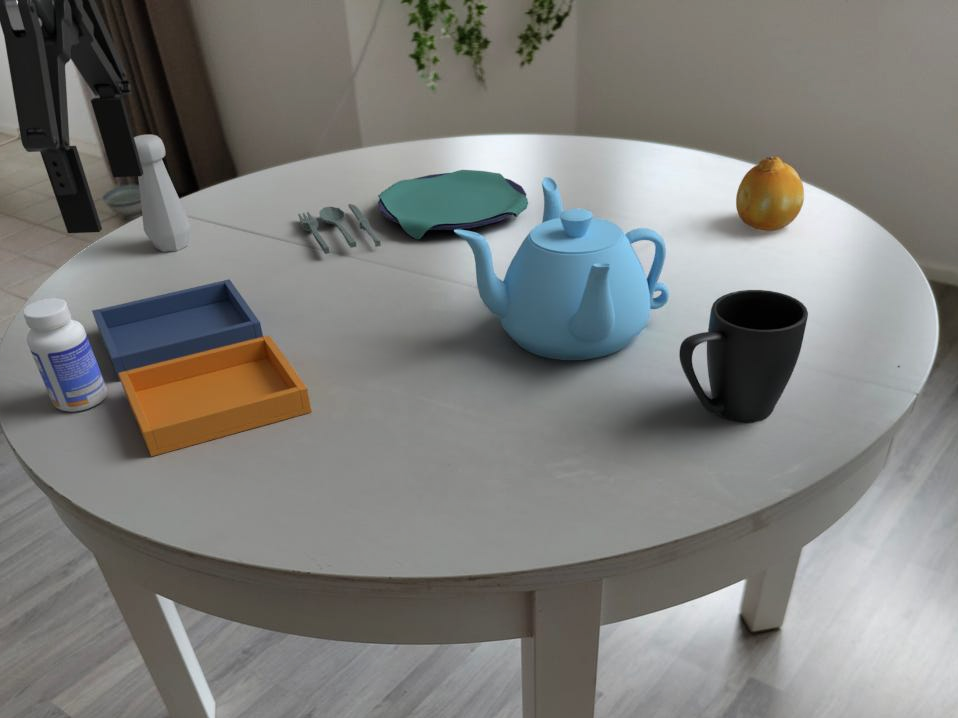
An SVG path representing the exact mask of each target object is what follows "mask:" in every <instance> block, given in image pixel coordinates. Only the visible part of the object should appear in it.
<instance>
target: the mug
mask: <svg viewBox="0 0 958 718" xmlns="http://www.w3.org/2000/svg"><path fill="white" fill-rule="evenodd" d="M808 317H809V311H808V308H807V307H806V306H805V305H804V303H803V302H801V301H800V300H798V298H795V297H792V296H790V295H788V294H785V293H782V292H777V291H772V290H764V289H745V290H744V289H743V290H737V291H732V292H729V293H726V294H724V295H721V296H720V297H718V298H717V299H716V300H714V302H713V303H712V306H711V308H710V313H709V321H708V329H707V331H704V332H699V333H695V334H692V335H689V336H687V337H686V338H684V339H683V341H682V342H681V344H680V347H679V352H678V353H679V355H678V356H679V363H680V365H681V368H682V371H683V373H684V375H685V377H686V379H687V381H688V383H689V385H690V387H691V388H692V391H693V392H694V394H695V396H696V398H697V400H698V401H699V403H700V404H701V406H702V407H703V408H704V409H705V411H706V412H708V413H709V414H712V415H720V416H721V417H723V418H725V419H727V420H731V421H734V422H741V423H752V422H758V421H762V420H764V419H766V418H768V417H769V416H770V415H772V413H773V412H774V409H775V407H776V405H777V404H778V402H779V400H780V398H781V396H782V395H783V394H784V391H785V389H786V387H787V386H788V383H789V381H790V379H791V377H792V375H793V373H794V370H795V368H796V366H797V363H798V360H799V357H800V354H801V350H802V346H803V341H804V336H805V331H806V326H807V324H808V323H807V322H808V319H809V318H808ZM702 343H706V365H707V374H708V375H707V376H708V381H709V388H710V392H711V393H710V394H711V397H710V396H708V395H707V394H706V393H705V391H704V389H703V387H702V385H701V384H700V382H699V380H698V376H697V375H696V372H695V369H694V365H693V354H694V352H695V349H696V347H698V346H699V345H701V344H702Z"/></svg>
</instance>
